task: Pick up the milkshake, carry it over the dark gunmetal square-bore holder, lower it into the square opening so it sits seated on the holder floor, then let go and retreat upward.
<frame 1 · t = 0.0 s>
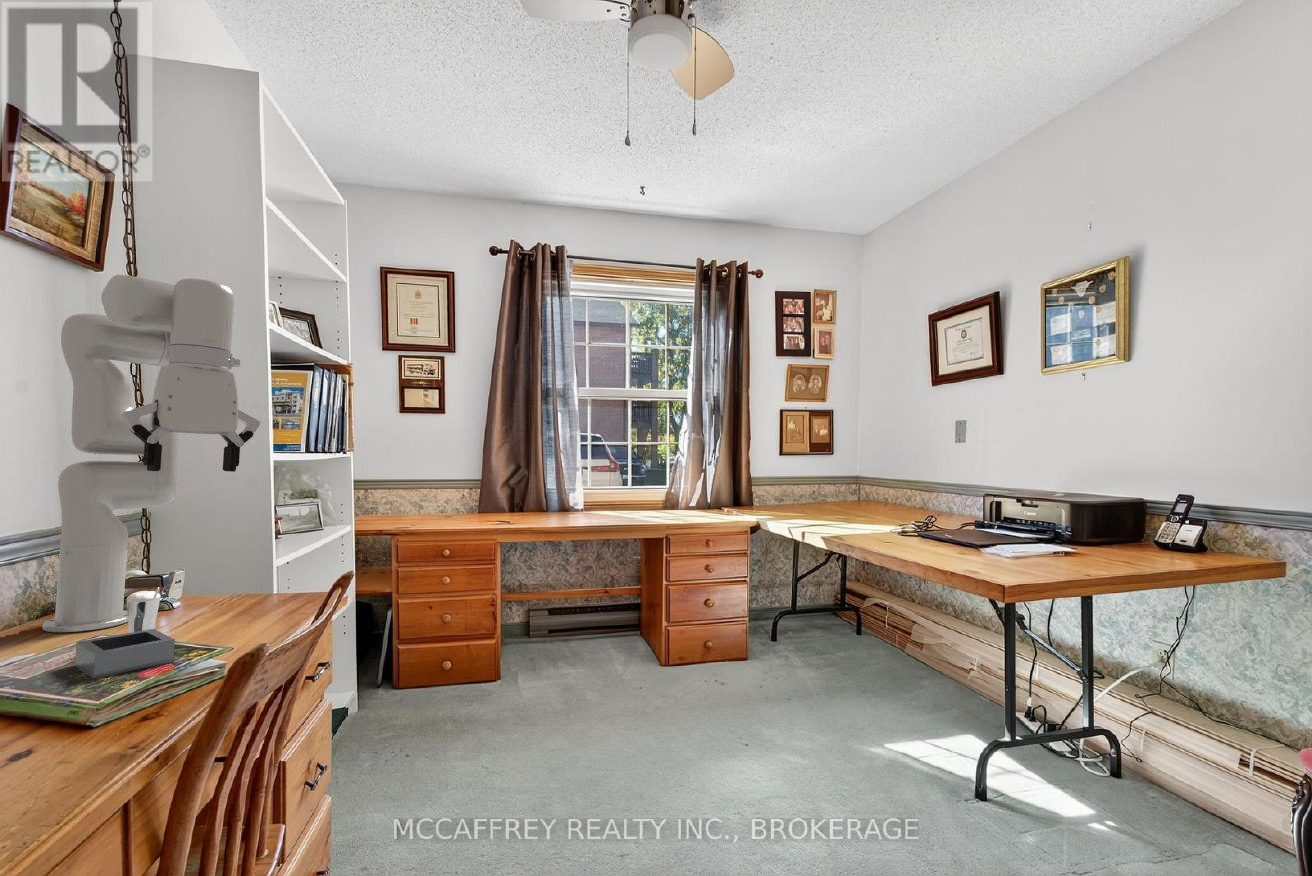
hand: (193, 471, 90), 31 cm above the table, fingers open, 9 cm apart
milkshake: (142, 645, 103), on the table
holder: (124, 663, 93), on the table
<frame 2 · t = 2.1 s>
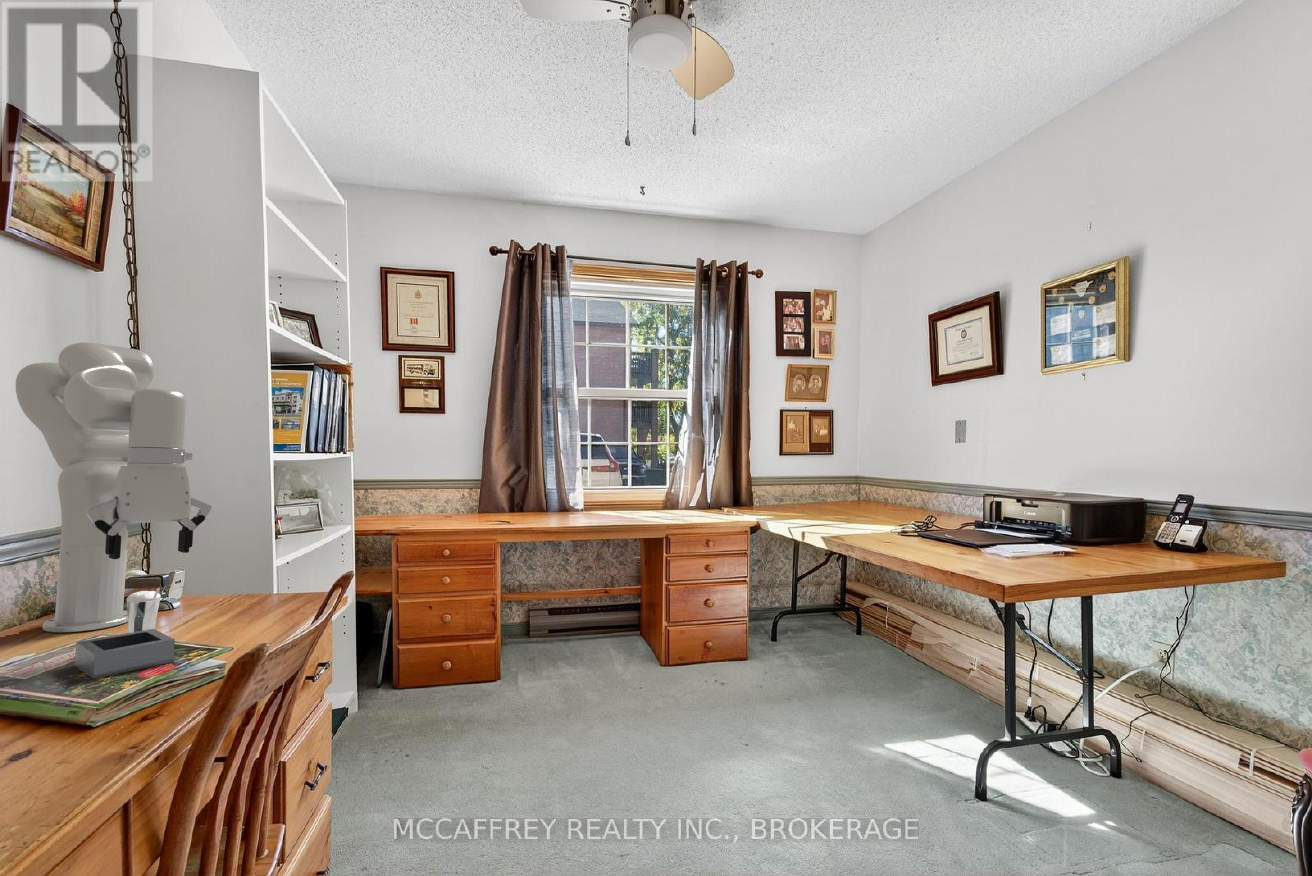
hand: (150, 555, 103), 16 cm above the table, fingers open, 9 cm apart
nothing on the table moved.
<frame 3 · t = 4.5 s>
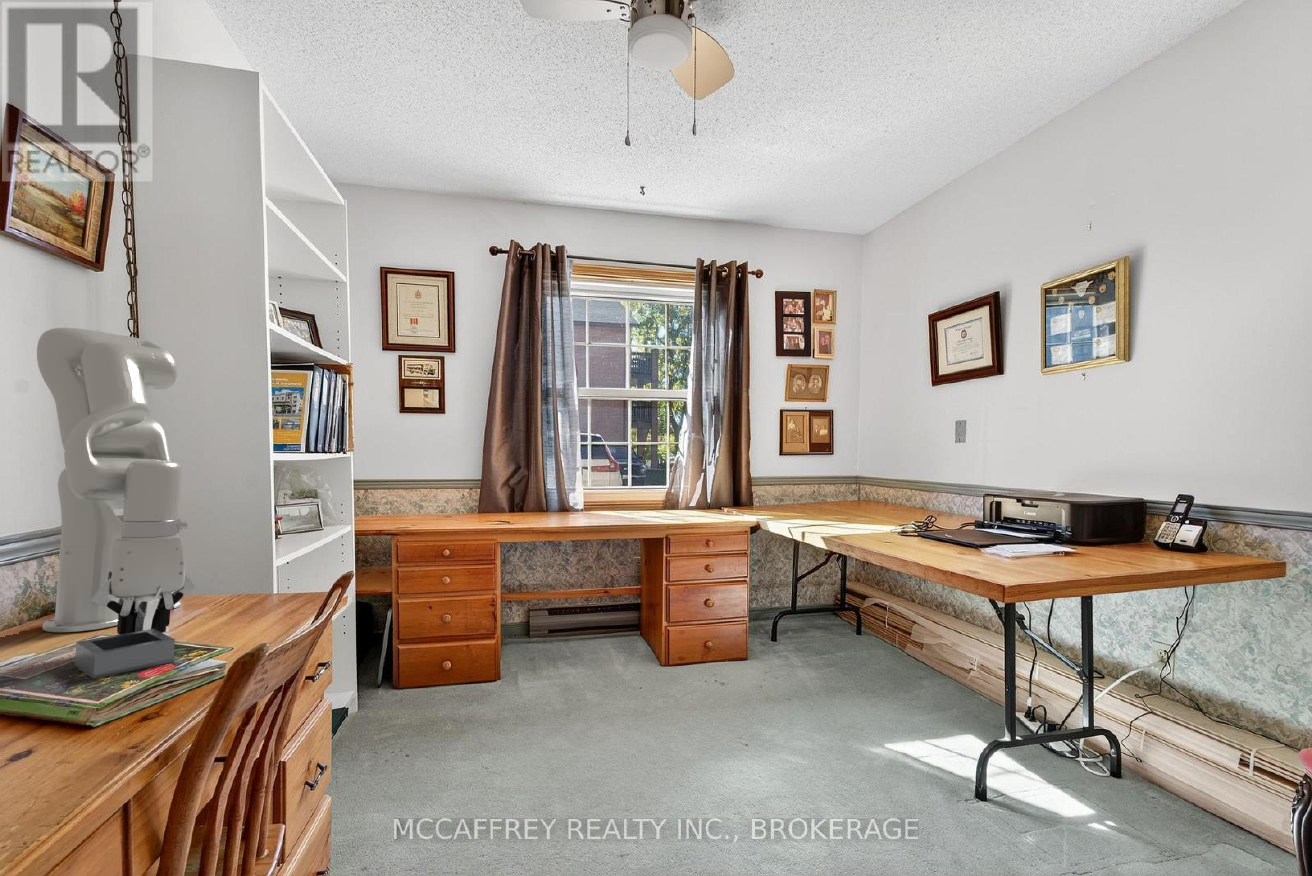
hand: (143, 633, 103), 2 cm above the table, fingers closed on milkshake, 4 cm apart
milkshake: (142, 644, 103), on the table, touching gripper
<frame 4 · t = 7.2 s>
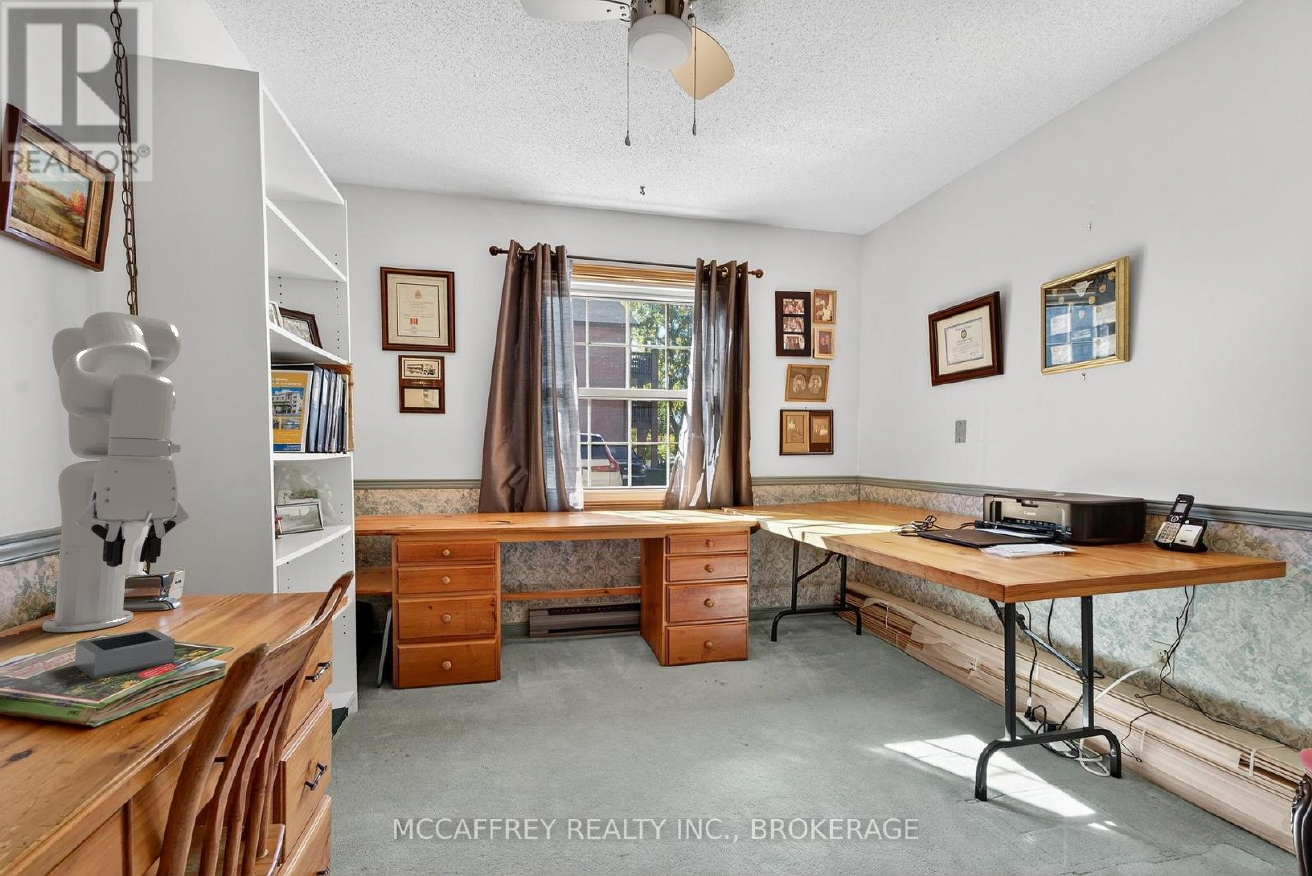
hand: (131, 562, 94), 16 cm above the table, fingers closed on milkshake, 4 cm apart
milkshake: (130, 575, 94), point 14 cm above the table, touching gripper
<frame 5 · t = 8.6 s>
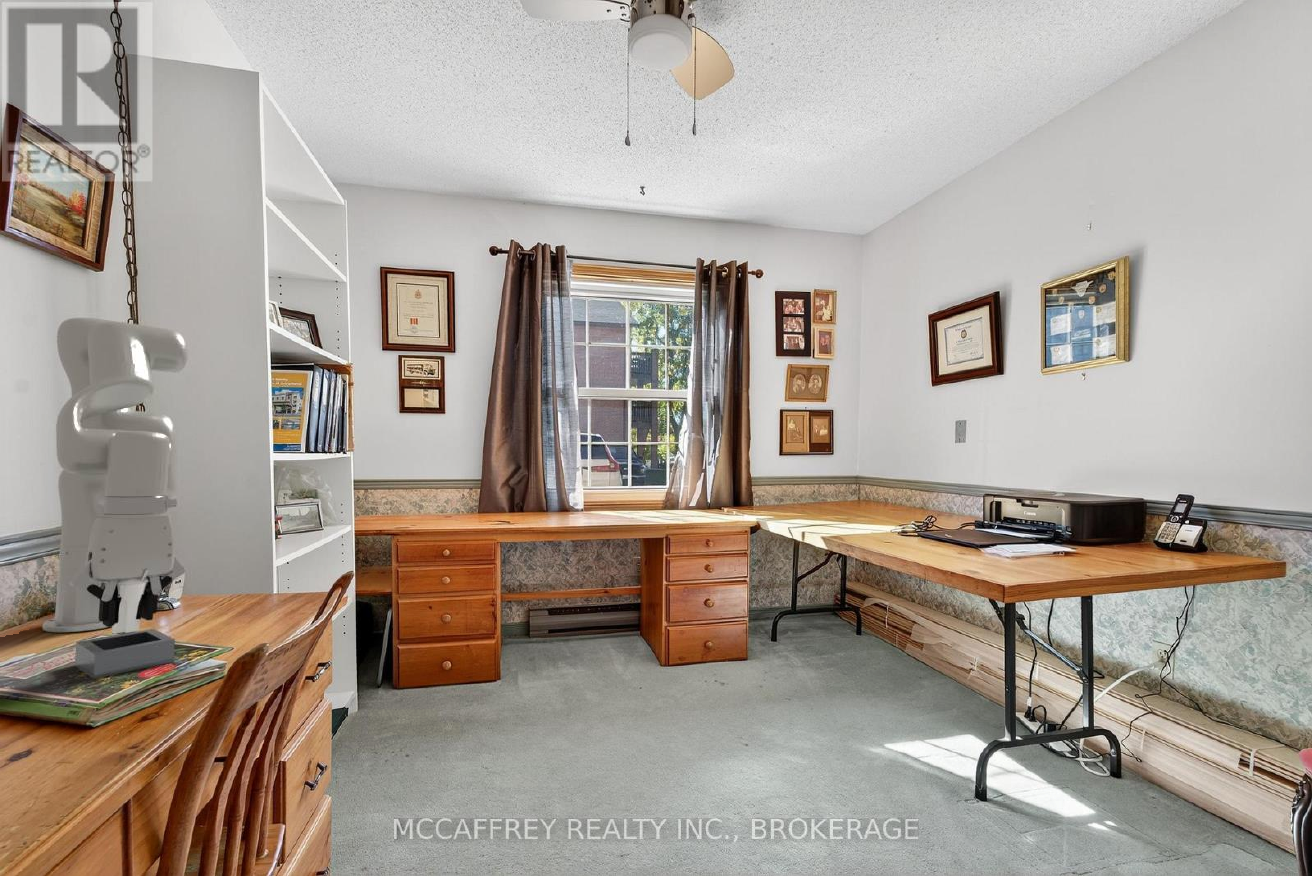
hand: (127, 620, 93), 7 cm above the table, fingers closed on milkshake, 4 cm apart
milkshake: (127, 633, 93), point 5 cm above the table, touching gripper
when the fingers open (4 cm above the table, at t = 9.9 s): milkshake drops 2 cm, resting on holder.
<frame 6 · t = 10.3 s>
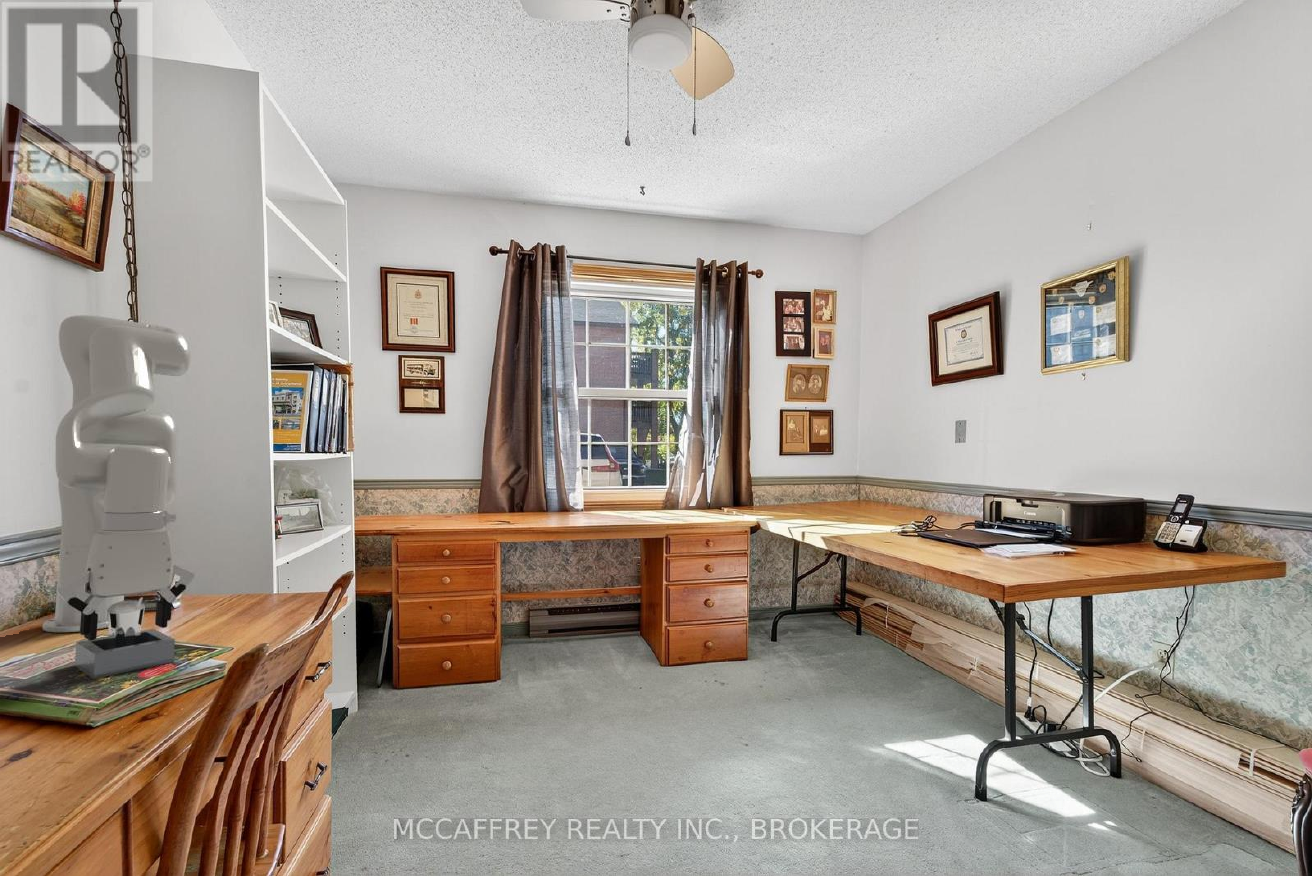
hand: (126, 631, 94), 5 cm above the table, fingers open, 8 cm apart
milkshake: (126, 660, 94), resting on holder
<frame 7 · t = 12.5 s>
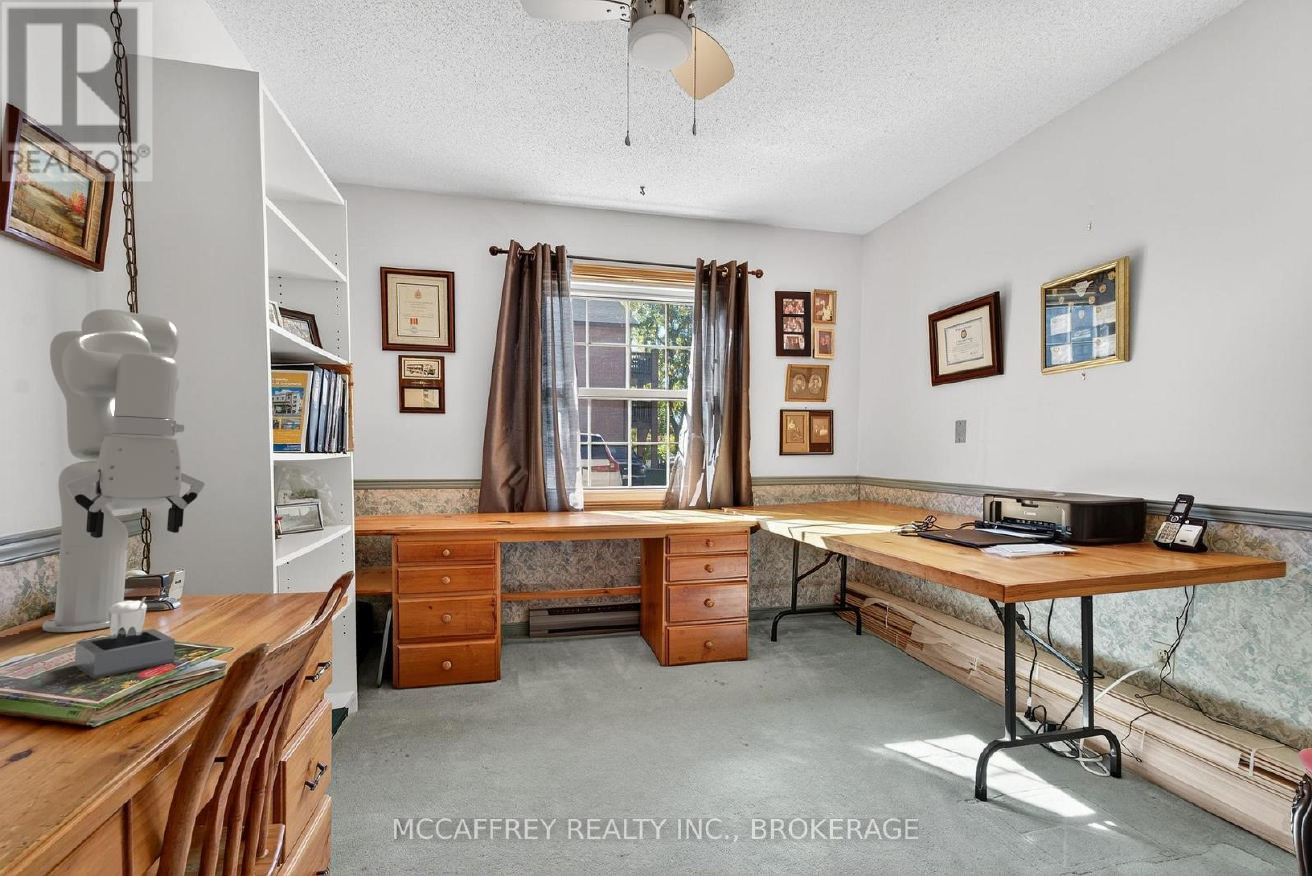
hand: (136, 534, 95), 20 cm above the table, fingers open, 9 cm apart
nothing on the table moved.
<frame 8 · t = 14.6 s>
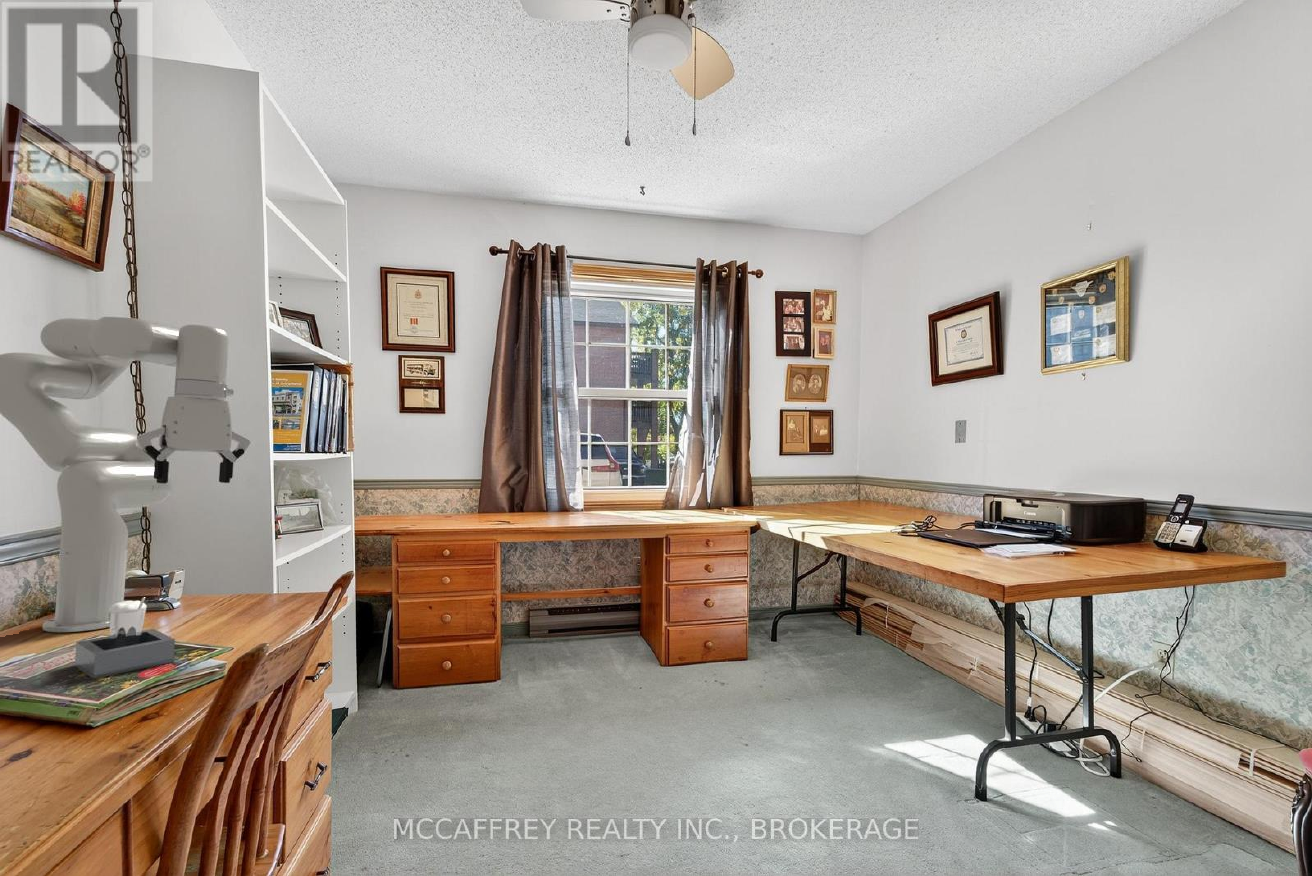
hand: (194, 482, 109), 28 cm above the table, fingers open, 9 cm apart
nothing on the table moved.
at the end: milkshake 0.3 cm off-centre on the holder, point 0.4 cm above the holder's base; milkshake tilted 0°; the gripper is holding nothing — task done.
